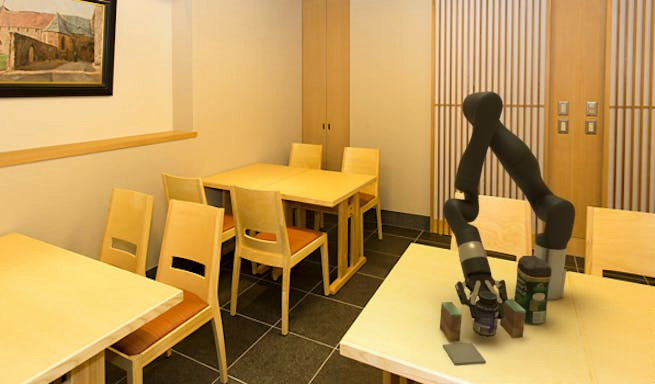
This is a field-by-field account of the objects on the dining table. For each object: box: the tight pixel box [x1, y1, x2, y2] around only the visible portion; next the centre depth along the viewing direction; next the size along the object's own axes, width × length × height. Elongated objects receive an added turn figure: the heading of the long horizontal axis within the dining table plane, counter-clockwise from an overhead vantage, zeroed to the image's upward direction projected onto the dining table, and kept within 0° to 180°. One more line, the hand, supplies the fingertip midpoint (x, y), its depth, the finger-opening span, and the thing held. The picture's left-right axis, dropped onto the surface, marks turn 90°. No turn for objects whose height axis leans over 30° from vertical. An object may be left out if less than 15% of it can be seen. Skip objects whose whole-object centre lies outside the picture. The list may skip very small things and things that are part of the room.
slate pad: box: [442, 342, 487, 366], centre depth 110 cm, size 8×8×1 cm
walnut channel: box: [439, 298, 526, 343], centre depth 120 cm, size 21×7×8 cm, turn 96°
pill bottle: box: [472, 291, 499, 338], centre depth 116 cm, size 6×6×11 cm
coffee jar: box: [513, 255, 551, 325], centre depth 127 cm, size 10×8×19 cm
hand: (489, 319), depth 115 cm, fingers closed on pill bottle, 6 cm apart
